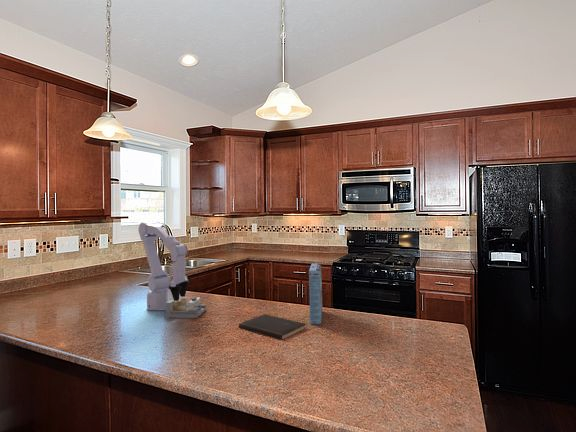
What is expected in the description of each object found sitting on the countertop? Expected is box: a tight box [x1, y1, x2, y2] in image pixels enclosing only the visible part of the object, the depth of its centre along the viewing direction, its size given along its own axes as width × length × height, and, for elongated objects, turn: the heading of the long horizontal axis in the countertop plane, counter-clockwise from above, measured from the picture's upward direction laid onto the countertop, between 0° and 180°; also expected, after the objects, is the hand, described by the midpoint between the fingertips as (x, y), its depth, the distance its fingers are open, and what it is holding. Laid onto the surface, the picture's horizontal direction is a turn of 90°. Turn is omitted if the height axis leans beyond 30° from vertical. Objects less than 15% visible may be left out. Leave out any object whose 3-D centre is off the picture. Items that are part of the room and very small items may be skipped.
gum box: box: [308, 263, 323, 325], centre depth 156 cm, size 20×5×23 cm, turn 172°
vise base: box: [164, 298, 207, 319], centre depth 165 cm, size 15×12×6 cm
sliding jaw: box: [187, 296, 202, 311], centre depth 164 cm, size 3×9×6 cm, turn 174°
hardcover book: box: [238, 313, 307, 341], centre depth 144 cm, size 16×23×2 cm
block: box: [174, 298, 188, 311], centre depth 165 cm, size 4×5×5 cm
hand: (179, 298), depth 165 cm, fingers open, 7 cm apart
